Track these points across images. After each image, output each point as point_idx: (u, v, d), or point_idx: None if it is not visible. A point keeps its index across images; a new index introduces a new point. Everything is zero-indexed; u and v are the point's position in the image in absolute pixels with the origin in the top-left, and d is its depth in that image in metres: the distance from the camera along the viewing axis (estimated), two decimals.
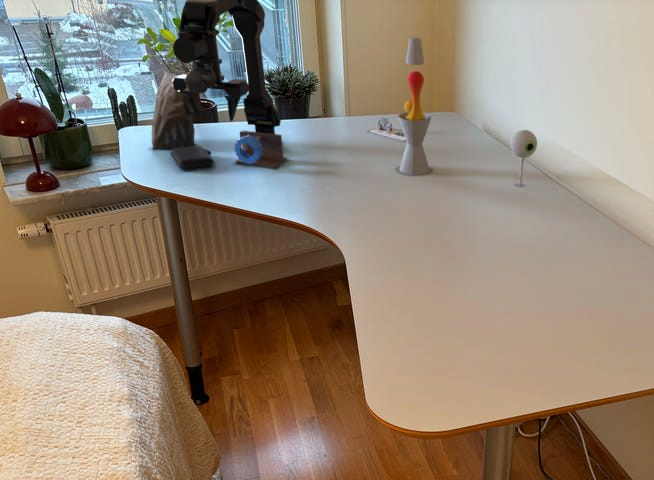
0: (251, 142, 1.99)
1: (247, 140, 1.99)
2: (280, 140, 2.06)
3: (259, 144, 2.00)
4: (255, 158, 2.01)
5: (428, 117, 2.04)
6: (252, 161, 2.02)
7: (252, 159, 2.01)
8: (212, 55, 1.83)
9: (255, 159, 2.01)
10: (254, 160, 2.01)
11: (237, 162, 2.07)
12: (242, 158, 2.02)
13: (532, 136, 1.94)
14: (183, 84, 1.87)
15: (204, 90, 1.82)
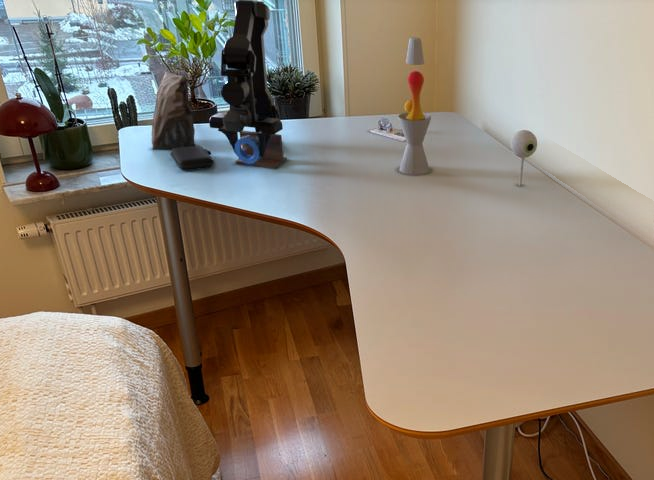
0: (251, 142, 1.99)
1: (247, 140, 1.99)
2: (280, 140, 2.06)
3: None
4: (255, 158, 2.01)
5: (428, 117, 2.04)
6: (252, 161, 2.02)
7: (252, 159, 2.01)
8: (250, 95, 1.93)
9: (255, 159, 2.01)
10: (254, 160, 2.01)
11: (237, 162, 2.07)
12: (242, 158, 2.02)
13: (532, 136, 1.94)
14: (220, 123, 1.96)
15: (241, 129, 1.91)
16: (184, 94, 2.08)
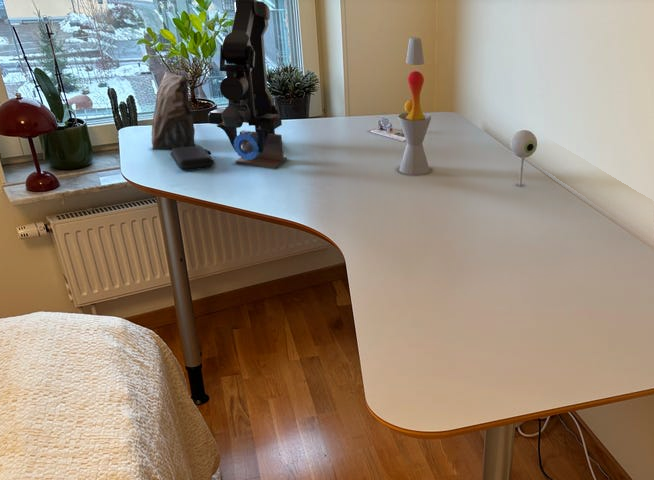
0: (250, 138, 1.98)
1: (246, 136, 1.98)
2: (280, 140, 2.06)
3: None
4: (254, 154, 2.00)
5: (428, 117, 2.04)
6: (251, 157, 2.01)
7: (251, 155, 2.00)
8: (249, 91, 1.92)
9: (254, 155, 2.00)
10: (253, 156, 2.00)
11: (237, 162, 2.07)
12: (241, 154, 2.01)
13: (532, 136, 1.94)
14: (219, 118, 1.95)
15: (240, 124, 1.90)
16: (184, 94, 2.08)
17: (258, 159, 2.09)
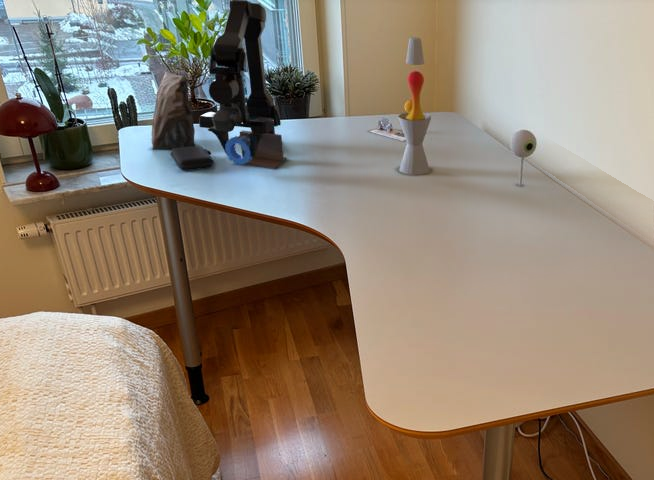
0: (242, 142, 1.94)
1: (238, 140, 1.94)
2: (280, 140, 2.06)
3: None
4: (246, 158, 1.96)
5: (428, 117, 2.04)
6: (243, 161, 1.97)
7: (243, 159, 1.96)
8: (240, 94, 1.88)
9: (246, 159, 1.96)
10: (245, 160, 1.96)
11: None
12: (233, 158, 1.97)
13: (531, 136, 1.94)
14: (210, 122, 1.91)
15: (231, 128, 1.86)
16: (184, 94, 2.08)
17: (258, 159, 2.09)
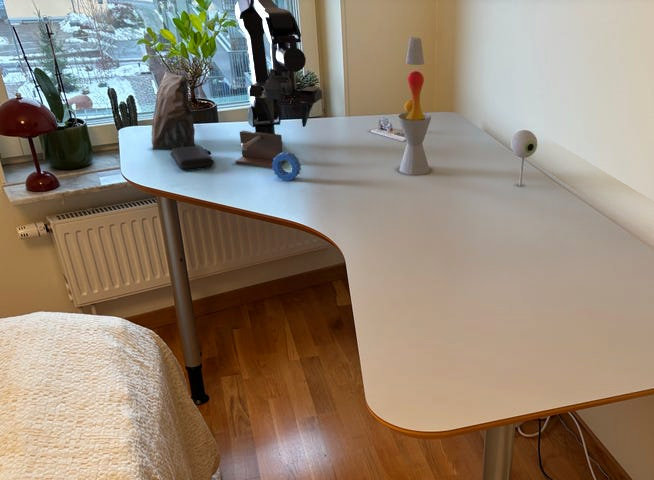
0: (291, 160, 1.94)
1: (287, 157, 1.94)
2: (280, 140, 2.06)
3: (298, 163, 1.96)
4: (292, 176, 1.97)
5: (428, 117, 2.04)
6: (288, 178, 1.97)
7: (289, 176, 1.97)
8: None
9: (291, 177, 1.97)
10: (290, 178, 1.97)
11: (237, 162, 2.07)
12: (278, 173, 1.97)
13: (532, 136, 1.94)
14: (259, 91, 1.94)
15: (282, 97, 1.89)
16: (184, 94, 2.08)
17: (258, 159, 2.09)
